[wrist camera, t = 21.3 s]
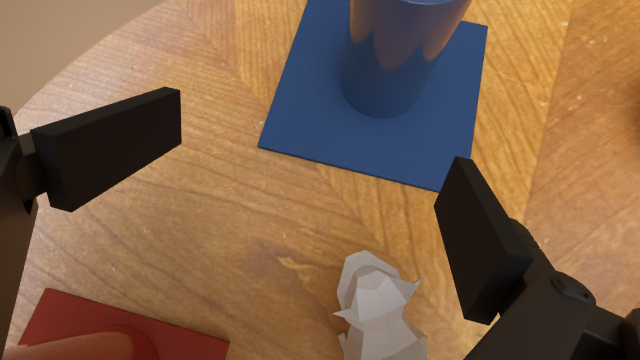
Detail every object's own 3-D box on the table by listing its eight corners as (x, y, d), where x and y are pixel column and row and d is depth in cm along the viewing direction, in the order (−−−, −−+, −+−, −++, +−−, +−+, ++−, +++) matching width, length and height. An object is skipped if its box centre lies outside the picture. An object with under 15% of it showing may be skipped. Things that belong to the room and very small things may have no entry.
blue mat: (311, -8, 29) (311, -12, 29) (485, 29, 28) (488, 25, 28) (258, 147, 25) (257, 145, 24) (462, 198, 24) (465, 197, 23)
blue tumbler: (350, 41, 27) (370, -108, 17) (426, 58, 27) (496, -84, 16) (331, 107, 25) (340, -14, 15) (413, 127, 25) (482, 16, 14)
